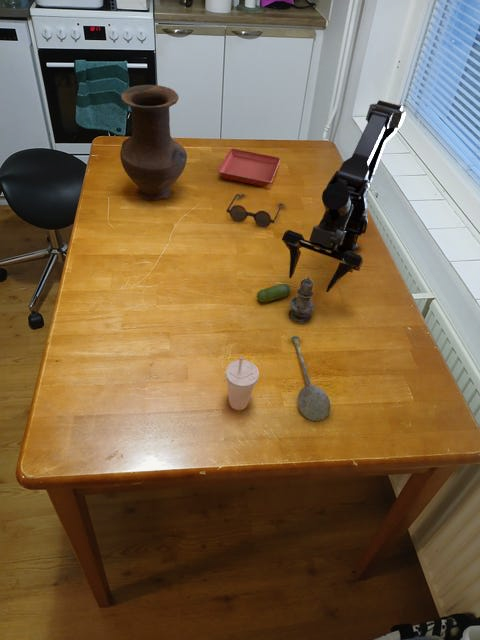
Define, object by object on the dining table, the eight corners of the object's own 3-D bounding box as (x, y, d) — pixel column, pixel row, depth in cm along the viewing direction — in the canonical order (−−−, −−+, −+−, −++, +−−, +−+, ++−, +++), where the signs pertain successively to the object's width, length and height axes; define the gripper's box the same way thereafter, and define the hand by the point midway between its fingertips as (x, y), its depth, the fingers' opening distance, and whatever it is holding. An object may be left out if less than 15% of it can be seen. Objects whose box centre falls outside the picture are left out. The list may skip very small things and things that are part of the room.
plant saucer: (279, 165, 171) (281, 156, 168) (270, 191, 158) (271, 181, 156) (229, 156, 173) (230, 147, 170) (216, 180, 160) (217, 171, 158)
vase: (111, 189, 152) (99, 89, 130) (162, 171, 162) (159, 76, 140) (147, 217, 142) (140, 114, 121) (199, 197, 152) (201, 99, 131)
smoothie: (221, 389, 101) (225, 344, 91) (252, 389, 101) (259, 344, 91) (223, 416, 96) (227, 371, 86) (255, 415, 97) (263, 371, 87)
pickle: (285, 289, 125) (287, 279, 122) (292, 297, 123) (294, 287, 120) (253, 298, 121) (255, 288, 119) (260, 306, 119) (261, 296, 117)
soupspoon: (299, 424, 97) (331, 423, 98) (303, 415, 94) (335, 414, 96) (281, 340, 112) (308, 339, 113) (283, 330, 109) (311, 330, 110)
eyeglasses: (225, 219, 145) (226, 204, 141) (240, 194, 155) (241, 180, 152) (273, 230, 143) (275, 215, 139) (284, 205, 153) (286, 190, 149)
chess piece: (310, 326, 116) (320, 288, 107) (286, 321, 116) (294, 283, 108) (313, 309, 120) (322, 271, 111) (289, 304, 120) (297, 267, 112)
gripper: (291, 198, 107) (264, 264, 108) (372, 225, 102) (344, 294, 102) (298, 213, 118) (274, 273, 118) (373, 238, 113) (347, 300, 113)
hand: (308, 284), depth 113 cm, fingers open, 9 cm apart
